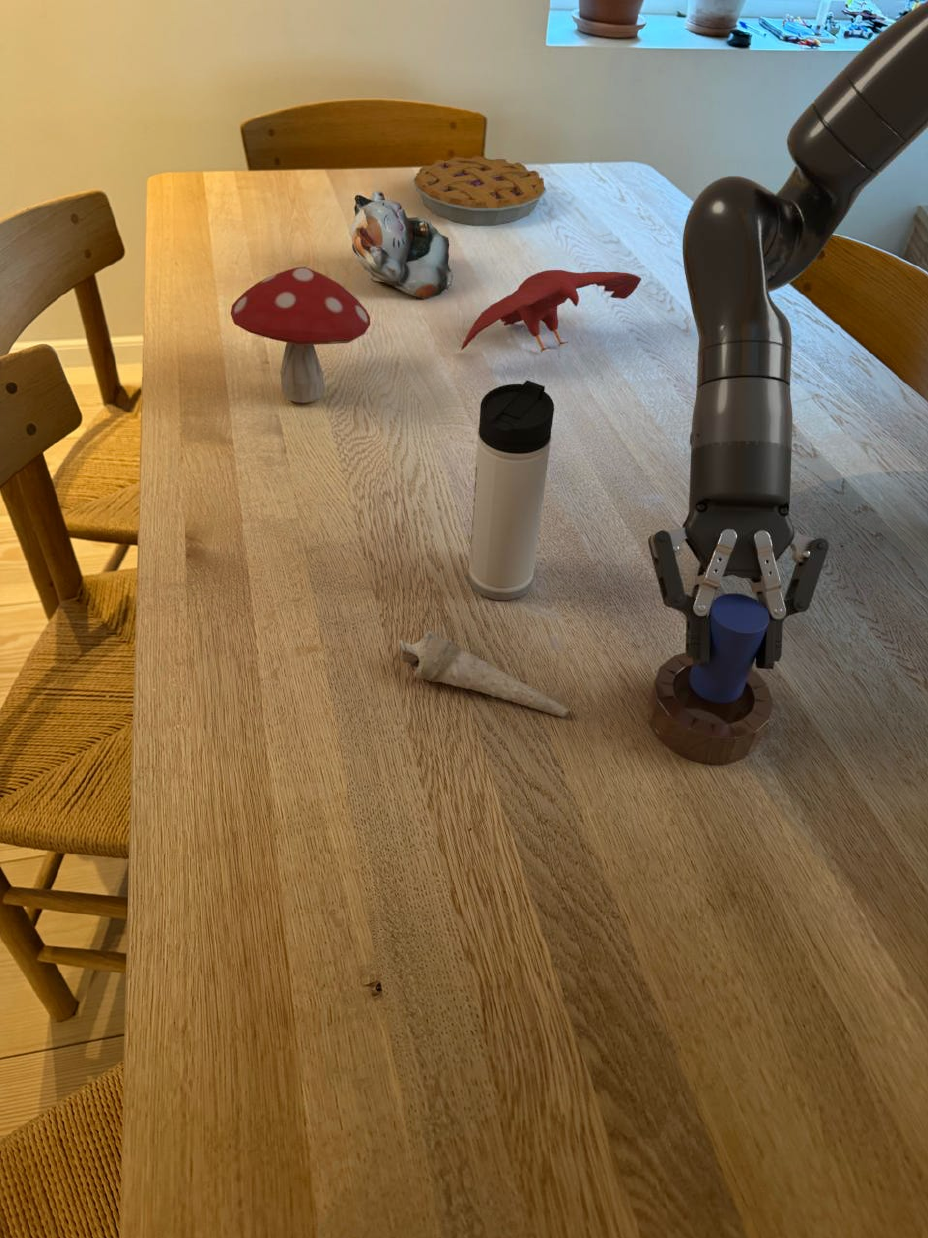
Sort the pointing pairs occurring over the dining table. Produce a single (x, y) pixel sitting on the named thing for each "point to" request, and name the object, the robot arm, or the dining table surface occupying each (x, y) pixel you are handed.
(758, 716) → the holder
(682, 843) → the dining table surface
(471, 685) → the seashell
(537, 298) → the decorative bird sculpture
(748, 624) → the blue cylinder
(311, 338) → the decorative mushroom
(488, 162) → the pie
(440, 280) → the lucky cat figurine
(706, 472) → the robot arm
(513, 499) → the travel mug
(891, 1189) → the dining table surface
